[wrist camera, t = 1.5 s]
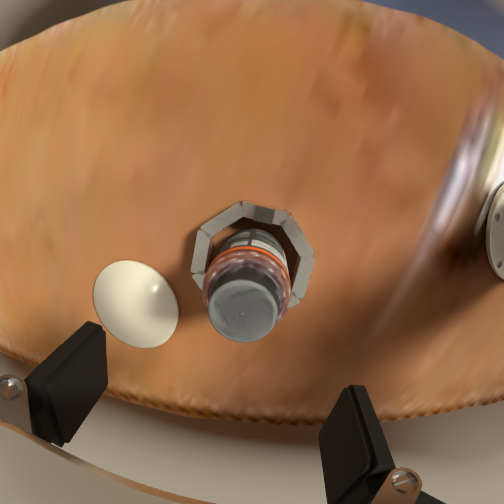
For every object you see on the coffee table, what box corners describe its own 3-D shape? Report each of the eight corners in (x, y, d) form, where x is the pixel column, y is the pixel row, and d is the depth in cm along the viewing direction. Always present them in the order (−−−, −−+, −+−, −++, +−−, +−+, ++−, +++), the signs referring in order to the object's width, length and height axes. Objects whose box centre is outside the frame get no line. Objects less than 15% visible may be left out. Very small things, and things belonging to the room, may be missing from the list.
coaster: (185, 273, 28) (183, 275, 27) (173, 355, 31) (172, 358, 30) (97, 249, 28) (94, 251, 27) (96, 329, 31) (94, 331, 30)
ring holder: (321, 218, 26) (327, 223, 23) (292, 319, 29) (293, 332, 26) (210, 191, 26) (203, 193, 23) (190, 295, 29) (183, 306, 26)
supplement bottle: (250, 301, 28) (238, 373, 17) (207, 255, 27) (168, 307, 17) (299, 261, 27) (316, 319, 16) (255, 213, 26) (244, 240, 15)
